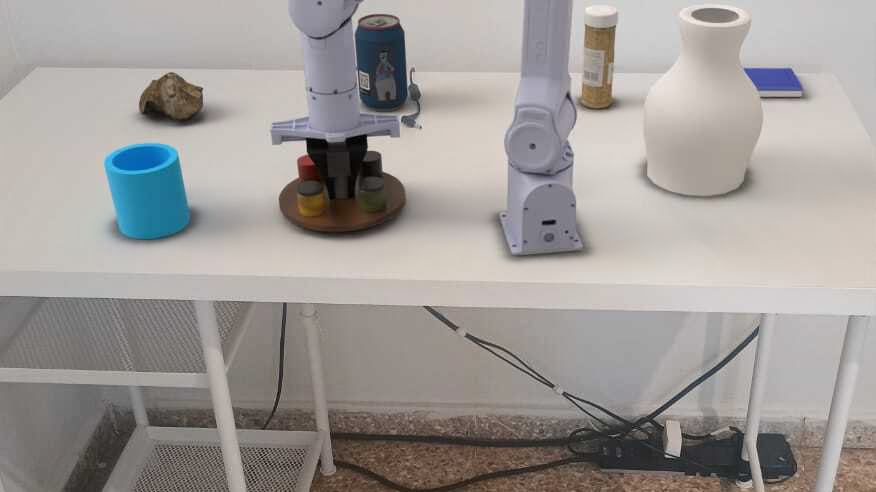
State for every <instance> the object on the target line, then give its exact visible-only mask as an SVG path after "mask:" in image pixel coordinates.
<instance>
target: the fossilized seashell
mask: <svg viewBox="0 0 876 492" xmlns="http://www.w3.org/2000/svg"><path fill="white" fill-rule="evenodd" d="M203 90H204V88H203V87H201V86H198V85H195V84H193V83H190V82H188V81H186V80H185V79H184V78H183V77H182V76H181V75H179V74H178V73H176V72H174V71H169V72H166V73H165V74H163V75H162V76H161V77H159V78H158V79H152V80H151V82H150V83H149V85H148V86H147V87H146V88H145V89H144V90H143V91H142V93H141V95H140V97H139V101H138V109H139V112H140V114H141V116H163V115H165V116H167V117H169V118H170V119H173V120H174V121H176V122H185V121H189V120H191V119H193V118H194V117H195V116H196V115H197V114H198V113H200V111H201V110H202V109H203V107H204V94H203Z"/></svg>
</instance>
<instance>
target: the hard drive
mask: <svg viewBox="0 0 876 492" xmlns="http://www.w3.org/2000/svg"><path fill="white" fill-rule="evenodd" d="M743 69H744V71H745V73H746V74H747V75H748V77H749V78H750V79H751V81H752V82H753V84H754V85H755V87H756V88H757V90H758V93H759V95H760V98H762V97H763V98H764V97H765V98H767V97H768V98H771V97H772V98H773V97H774V98H782V97H783V98H784V97H785V98H792V97H794V98H799V97H800V98H801V97H802V95H803V89H804V88H803V86H802V83H801V82H800V81H799V78H798V77H797V75H796V73H795V72H794V70H793V68H791V67H780V68H779V67H743Z"/></svg>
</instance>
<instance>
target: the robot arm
mask: <svg viewBox="0 0 876 492" xmlns="http://www.w3.org/2000/svg"><path fill="white" fill-rule="evenodd" d="M364 1H365V0H288V4H287V5H288V8H287V9H288V13H289V17H290V20H291V21H292V23H293V25H294V26H295V27H296V28H297V29H298V30H299V34H300V35H299V36H300V46H301V56H302V57H301V58H302V66H303V74H304V85H305V93H306V102H307V112H308V115H307V116H303V117H298V118H293V119H288V120H283V121H282V120H281V121H275V122H274V121H272V122H270V128H269V129H270V136H271V137H270V138H271V139H270V140H271V145H272V146H280V145H282V144H283V143H291V142H303V141H304V142H305V144H306V153H307V155H309V157H310V159H311V160H312V162H313V163H314V164H315V166H316V168H317V169H318V171H319V173H320V175H321V177H322V179H323V181H324V183H325V186H326V189H327V192H328V196H329V199H335V193H334V186H333V181H332V177H329V172H328V162H327V146H328V142H342V141H345V138H346V151H349V159H350V170H351V176H348V194H349V198H354V197H355V186H356V180H357V176H358V173H359V170H360V167H361V164H362V162H363V159H364V157H365V155H366V153H367V151H368V148H369V145H368V143H369V142H368V138H370V137H371V138H372V137H386V136H387V137H388V136H390V138H391V139H393V138H395V139H396V138H401V129H400V117H399V115H398V114H374V113H364V112H363V113H362V112H360V103H359V86H358V73H357V60H356V47H355V39H354V31H353V30H354V29H353V28H354V27H353V17H354V15H355V14H356V12H357V10H359V6H360V4H361V3H363V2H364ZM573 7H574V0H524V1H523V20H522V39H521V40H522V41H521V43H522V44H521V59H520V60H521V62H520V79H519V82H518V83H519V84H518V89H517V91H516V92H517V93H516V97H515V103H514V113H513V118H512V121H511V123H510V125H509V126H508V127H507V129H506V131H505V134H504V137H503V139H504V140H503V145H504V150H505V154H506V156H507V203H506V204H507V207H506V208H507V209H506V211H501V212H499V214H498V215H499V217H498V218H499V220H500V223H501V226H502V230H503V232H504V235H505V238H506V242H507V244H508V248H509V250H510V253H511V255H513V256H525V255H538V254H539V255H540V254H551V253H564V252H576V251H581V250H583V247H584V246H583V243H582V241H581V238H580V236H579V234H578V231H577V229H576V219H577V198H576V194H575V192H574V190H573V181H574V160H575V158H574V157H575V151H573V148H572V145H571V143H570V141H569V140H568V139H569V136H570V133H571V132H572V130H573V129H574V127H575V126H576V123H577V119H578V109H577V108H578V107H577V104H576V103H575V100H574V98H573V96H572V89H571V88H572V77H571V75H570V73H569V60H570V48H571V47H570V46H571V35H572V20H573Z"/></svg>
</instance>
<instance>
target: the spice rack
mask: <svg viewBox="0 0 876 492" xmlns="http://www.w3.org/2000/svg"><path fill="white" fill-rule="evenodd" d="M296 159H297V160H296V165H297V172H298V173H297V174H298V177H296V178H295V179H293V180H291V181H290V182H289V183H287V184H286V185H285V187H283V188H282V190H281V191H280V193H279V196H278V206H279V207H278V208H279V211H280V213H281V214H282V216H283V217H284V218H285V219H286V220H287V221H289V222H290V223H291V224H294V225H296V226H298V227H302V228H304V229H308V230H313V231H319V232H334V233H335V232H336V233H337V232H350V231H356V230H357V231H358V230H363V229H367V228H371V227H375V226H377V225H380V224H382V223H385V222H386V221H389V220H391V218H394V217H395V216H396V215H398V213H400V211H402V209H403V208H404V206H405V204H406V201H407V200H406V199H407V197H406V188H405V186H404V184H403V183H402V182H401V180H400V179H398V178H397V177H396V176H394V175H392V174H391V173H388V172H385V171H383V159H382V154H381V152H379V151H376V150H367V153H366V155H365V157H364V159H363V162H362V164H361V167H360V170H359V173H358V176H357V180H356V186H355V197H354V198H349V194H348V176H351V170H350V159H349V151H346V138H345V141H342V142H328V146H327V162H328V172H329V177H332V181H333V186H334V193H335V199H329V196H328V192H327V189H326V186H325V183H324V181H323V179H322V177H321V175H320V173H319V171H318V169H317V168H316V166H315V164H314V163H313V162H312V160H311V159H310V157H309V155H308V154H304V155H301V156H299V157H298V158H296Z"/></svg>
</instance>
